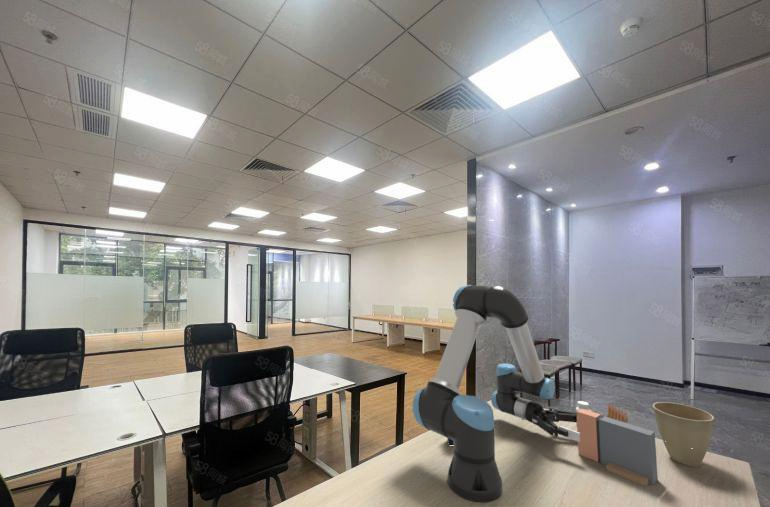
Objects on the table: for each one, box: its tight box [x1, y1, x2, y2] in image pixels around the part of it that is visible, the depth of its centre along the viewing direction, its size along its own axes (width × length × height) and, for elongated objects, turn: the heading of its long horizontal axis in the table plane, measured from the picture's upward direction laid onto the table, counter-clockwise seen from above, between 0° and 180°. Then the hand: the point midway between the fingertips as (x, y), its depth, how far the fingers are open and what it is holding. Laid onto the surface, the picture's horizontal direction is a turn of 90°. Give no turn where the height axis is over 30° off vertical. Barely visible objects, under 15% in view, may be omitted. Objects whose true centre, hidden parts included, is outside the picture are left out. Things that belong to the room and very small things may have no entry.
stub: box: [575, 409, 602, 463], centre depth 109 cm, size 6×4×14 cm, turn 36°
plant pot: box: [652, 401, 715, 468], centre depth 107 cm, size 15×15×16 cm
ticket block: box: [597, 414, 659, 487], centre depth 101 cm, size 14×9×14 cm, turn 36°
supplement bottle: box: [575, 400, 592, 427], centre depth 130 cm, size 5×5×10 cm
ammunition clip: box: [606, 402, 629, 424], centre depth 120 cm, size 11×2×12 cm, turn 178°
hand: (588, 431), depth 110 cm, fingers open, 13 cm apart
